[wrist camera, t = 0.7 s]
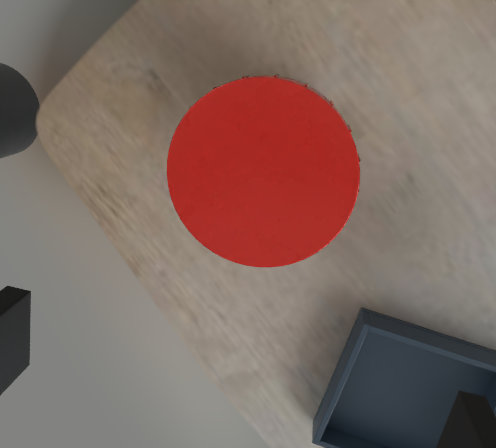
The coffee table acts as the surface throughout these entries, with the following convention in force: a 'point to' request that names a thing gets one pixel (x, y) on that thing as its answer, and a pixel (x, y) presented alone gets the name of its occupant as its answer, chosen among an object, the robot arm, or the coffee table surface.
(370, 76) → the coffee table surface
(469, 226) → the coffee table surface
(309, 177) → the lid
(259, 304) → the coffee table surface
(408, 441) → the tray
